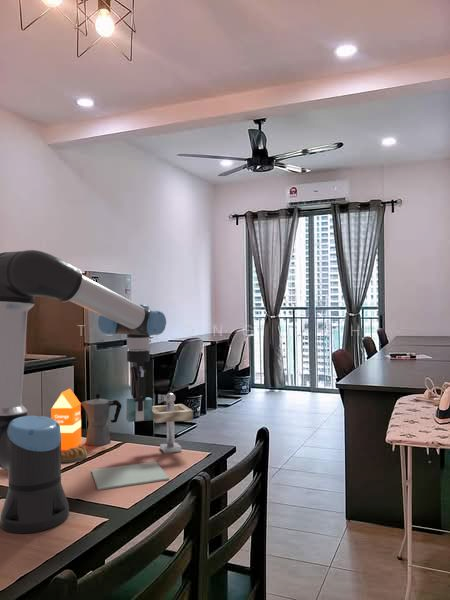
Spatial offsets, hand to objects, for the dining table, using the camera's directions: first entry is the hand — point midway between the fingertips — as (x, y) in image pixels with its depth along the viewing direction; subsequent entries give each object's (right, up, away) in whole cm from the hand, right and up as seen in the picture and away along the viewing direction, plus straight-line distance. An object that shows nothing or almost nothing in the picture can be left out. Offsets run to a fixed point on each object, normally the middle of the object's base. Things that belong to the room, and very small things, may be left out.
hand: (138, 418), depth 165 cm
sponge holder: (+6, 0, +3) cm, 7 cm away
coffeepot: (-16, -12, +14) cm, 25 cm away
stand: (+10, -12, +4) cm, 16 cm away
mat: (+1, -12, -21) cm, 24 cm away
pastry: (-21, -13, -4) cm, 25 cm away
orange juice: (-27, -12, +10) cm, 32 cm away
